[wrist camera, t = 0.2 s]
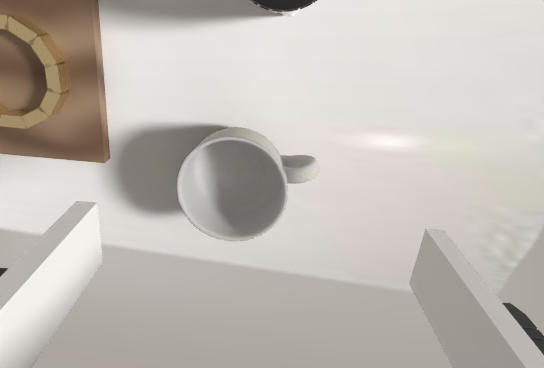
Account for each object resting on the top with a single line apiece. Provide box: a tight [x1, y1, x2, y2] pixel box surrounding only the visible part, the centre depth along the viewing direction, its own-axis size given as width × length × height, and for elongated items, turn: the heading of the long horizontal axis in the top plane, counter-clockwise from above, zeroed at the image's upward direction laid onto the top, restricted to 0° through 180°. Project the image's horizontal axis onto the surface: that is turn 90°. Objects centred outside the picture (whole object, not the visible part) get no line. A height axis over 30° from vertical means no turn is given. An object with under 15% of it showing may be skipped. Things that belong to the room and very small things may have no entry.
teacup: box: [177, 127, 319, 241], centre depth 40 cm, size 14×11×8 cm
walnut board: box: [0, 0, 110, 163], centre depth 38 cm, size 20×16×2 cm
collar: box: [0, 13, 71, 129], centre depth 37 cm, size 10×10×2 cm
